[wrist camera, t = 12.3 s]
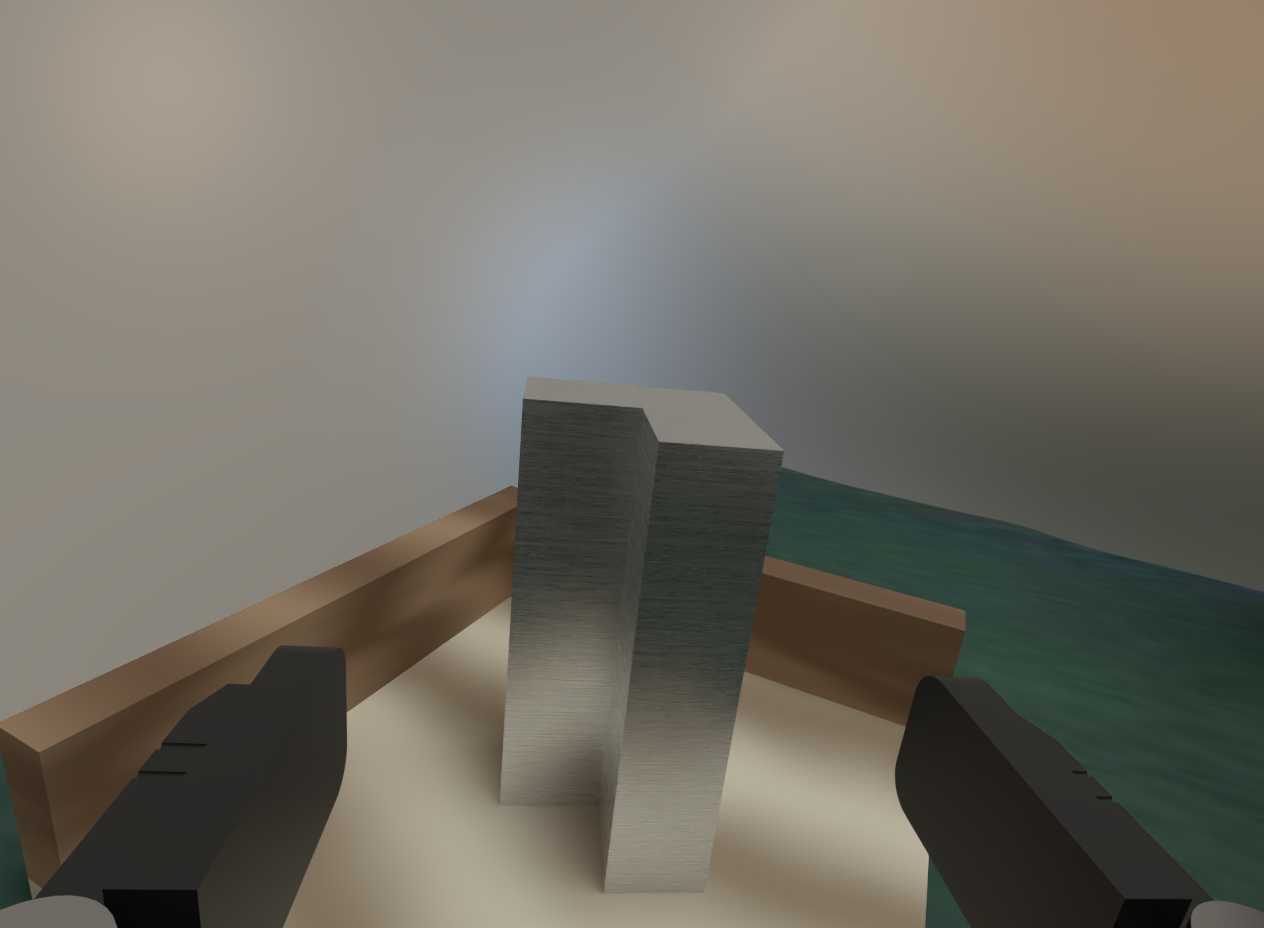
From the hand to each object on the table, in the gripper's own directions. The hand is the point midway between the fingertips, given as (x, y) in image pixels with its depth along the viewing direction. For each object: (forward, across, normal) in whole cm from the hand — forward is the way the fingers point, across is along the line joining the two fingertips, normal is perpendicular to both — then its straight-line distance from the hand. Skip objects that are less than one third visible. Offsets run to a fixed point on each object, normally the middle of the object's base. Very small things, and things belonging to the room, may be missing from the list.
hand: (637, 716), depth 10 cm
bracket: (+7, 0, +8) cm, 11 cm away
